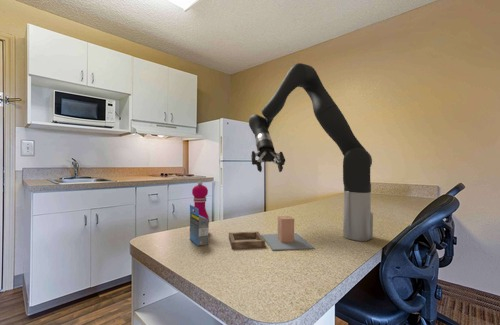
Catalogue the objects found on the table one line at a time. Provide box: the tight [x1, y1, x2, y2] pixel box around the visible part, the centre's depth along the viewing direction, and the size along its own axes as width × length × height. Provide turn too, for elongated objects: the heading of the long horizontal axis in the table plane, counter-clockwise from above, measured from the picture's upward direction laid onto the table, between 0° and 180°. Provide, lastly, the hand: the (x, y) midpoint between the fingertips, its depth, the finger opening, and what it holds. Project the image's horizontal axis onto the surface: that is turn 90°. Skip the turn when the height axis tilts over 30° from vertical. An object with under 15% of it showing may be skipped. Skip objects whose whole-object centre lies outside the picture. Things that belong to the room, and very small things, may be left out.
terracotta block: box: [277, 215, 295, 243], centre depth 86 cm, size 4×4×8 cm
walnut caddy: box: [228, 231, 266, 250], centre depth 84 cm, size 11×11×2 cm
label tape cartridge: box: [189, 204, 210, 247], centre depth 84 cm, size 9×4×12 cm, turn 32°
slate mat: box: [260, 232, 315, 252], centre depth 86 cm, size 14×16×1 cm
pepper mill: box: [191, 180, 210, 221], centre depth 95 cm, size 7×7×20 cm
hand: (270, 170), depth 101 cm, fingers open, 8 cm apart
